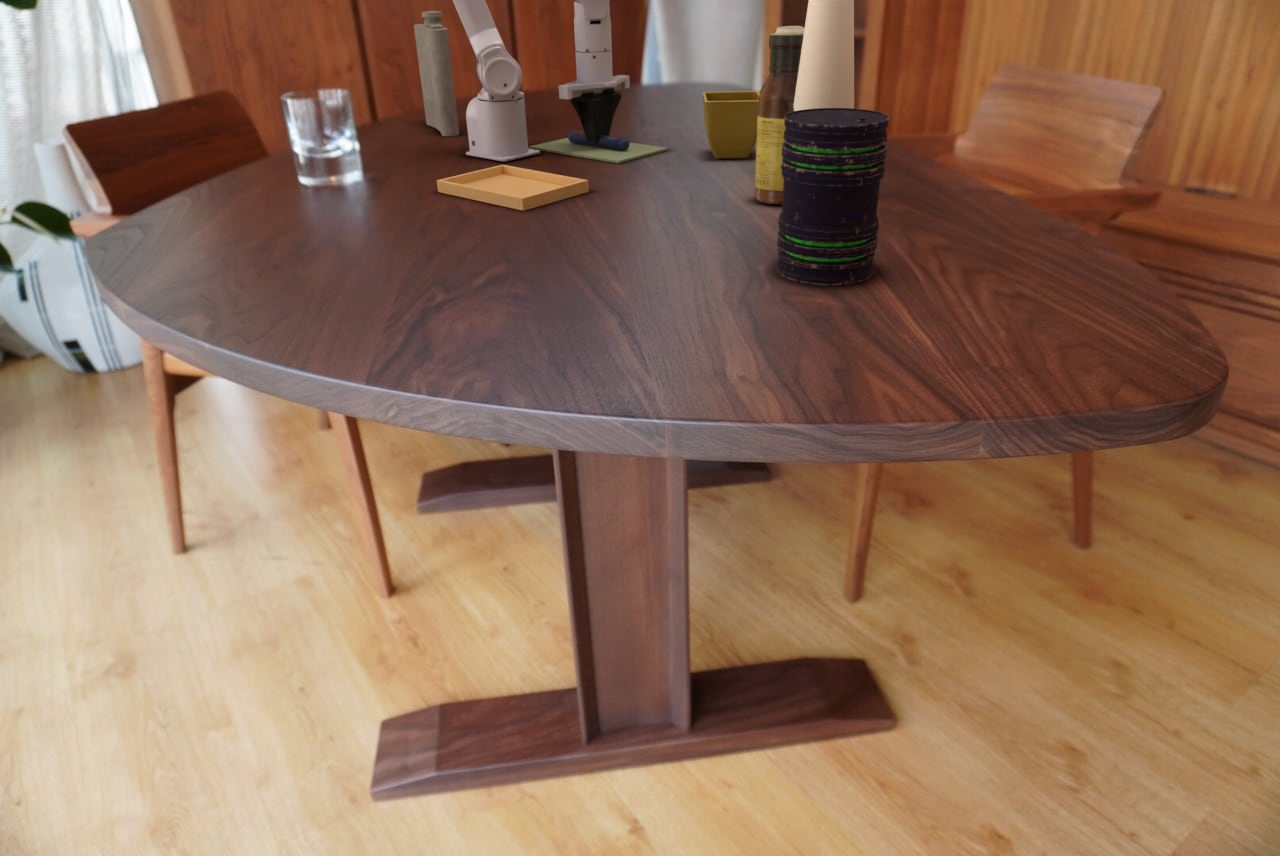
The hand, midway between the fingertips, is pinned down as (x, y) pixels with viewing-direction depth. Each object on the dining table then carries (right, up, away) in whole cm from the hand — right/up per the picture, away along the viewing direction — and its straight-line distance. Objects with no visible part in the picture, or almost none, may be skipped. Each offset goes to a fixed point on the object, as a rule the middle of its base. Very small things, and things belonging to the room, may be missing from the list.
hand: (597, 140), depth 148 cm
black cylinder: (+26, -31, -56) cm, 69 cm away
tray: (-11, -15, -24) cm, 30 cm away
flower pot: (+21, -5, -6) cm, 23 cm away
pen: (0, -1, 0) cm, 1 cm away
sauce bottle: (+25, -18, -31) cm, 43 cm away
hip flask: (-29, +9, +21) cm, 37 cm away
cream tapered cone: (+28, -23, -40) cm, 54 cm away
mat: (0, -1, +1) cm, 2 cm away
